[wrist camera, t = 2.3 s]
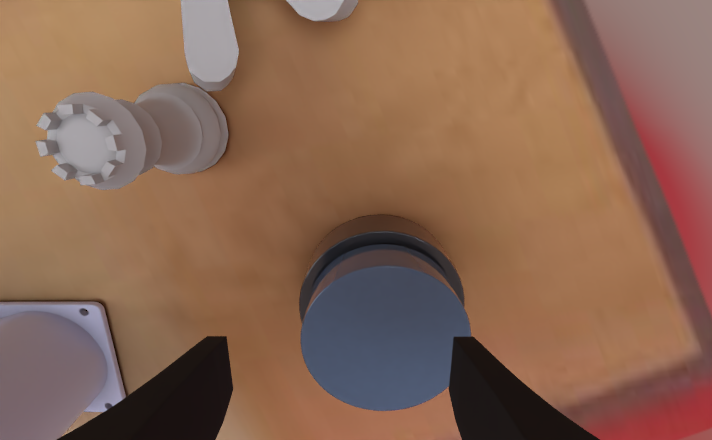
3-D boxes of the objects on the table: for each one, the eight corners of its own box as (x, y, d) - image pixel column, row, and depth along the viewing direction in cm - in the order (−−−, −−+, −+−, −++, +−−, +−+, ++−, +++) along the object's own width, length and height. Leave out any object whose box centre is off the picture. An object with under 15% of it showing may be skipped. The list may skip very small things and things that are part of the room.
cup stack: (309, 345, 23) (294, 419, 18) (302, 214, 21) (282, 254, 15) (446, 345, 23) (473, 419, 18) (457, 213, 20) (492, 254, 15)
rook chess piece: (146, 165, 20) (14, 205, 12) (142, 77, 18) (-9, 59, 11) (230, 176, 20) (151, 222, 12) (232, 89, 19) (145, 80, 11)
